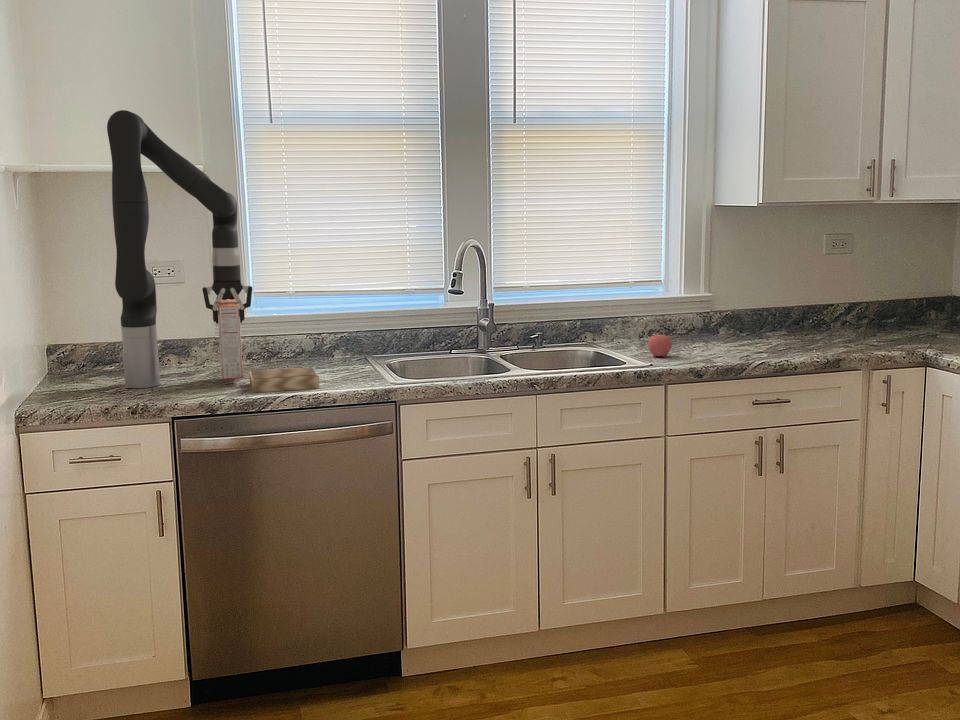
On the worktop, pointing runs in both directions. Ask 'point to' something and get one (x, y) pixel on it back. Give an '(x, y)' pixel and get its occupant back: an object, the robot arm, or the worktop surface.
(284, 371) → the podium
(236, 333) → the cracker box
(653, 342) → the apple
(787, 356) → the worktop surface
